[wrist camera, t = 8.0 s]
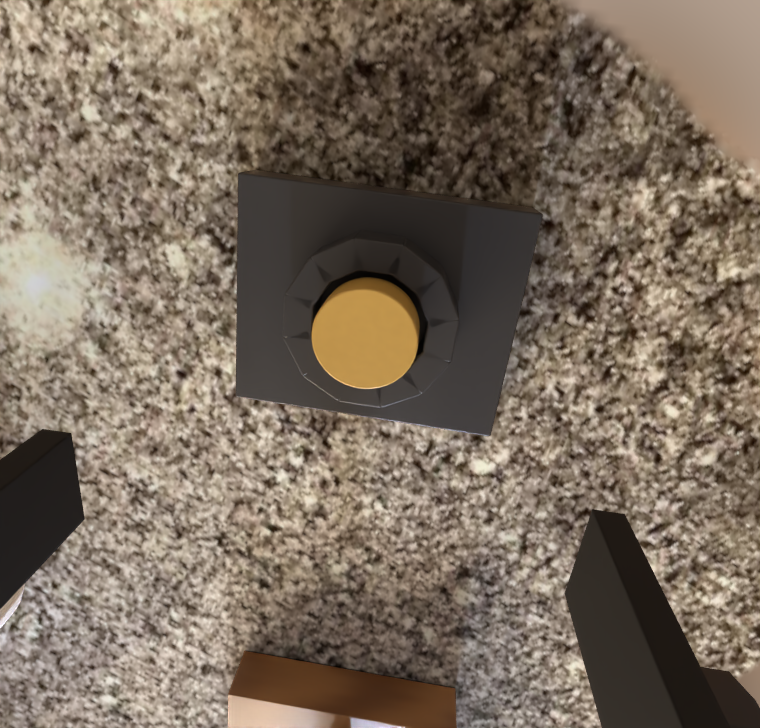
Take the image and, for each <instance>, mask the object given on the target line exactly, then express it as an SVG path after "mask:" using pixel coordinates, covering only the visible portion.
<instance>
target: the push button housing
mask: <svg viewBox="0 0 760 728" xmlns="http://www.w3.org/2000/svg"><path fill="white" fill-rule="evenodd" d="M542 217H543V215H542V214H541V213H540V212H538V211H537V210H536V209H534V208H533V207H527V206H519V205H512V204H505V203H497V202H490V201H483V200H475V199H468V198H460V197H453V196H446V195H438V194H431V193H423V192H416V191H409V190H401V189H394V188H387V187H379V186H372V185H364V184H357V183H350V182H342V181H335V180H328V179H320V178H313V177H305V176H298V175H291V174H283V173H276V172H268V171H261V170H253V171H247V172H241V173H239V174H238V235H237V334H236V397H241V398H247V399H254V400H260V401H267V402H273V403H279V404H286V405H292V406H299V407H305V408H311V409H318V410H324V411H331V412H337V413H343V414H350V415H356V416H363V417H369V418H375V419H382V420H388V421H395V422H401V423H407V424H414V425H420V426H427V427H433V428H440V429H446V430H452V431H459V432H465V433H472V434H478V435H484V436H490V435H491V431H492V427H493V423H494V419H495V415H496V410H497V406H498V402H499V398H500V394H501V389H502V385H503V381H504V377H505V373H506V368H507V364H508V360H509V356H510V352H511V347H512V343H513V339H514V335H515V330H516V326H517V322H518V318H519V314H520V309H521V305H522V301H523V297H524V293H525V288H526V284H527V280H528V276H529V272H530V267H531V263H532V259H533V255H534V251H535V246H536V242H537V238H538V234H539V229H540V225H541V221H542ZM361 277H374V278H380V279H383V280H386V281H389V282H391V283H393V284H395V285H396V286H398V287H399V288H401V289H402V290H403V291H404V292H405V293H406V294H407V295H408V296H409V297H410V299H411V300H412V302H413V303H414V306H415V308H416V310H417V313H418V317H419V324H420V330H419V340H418V349H417V353H416V356H415V359H414V361H413V363H412V365H411V367H410V368H409V369H408V371H407V372H406V373H405V374H404V375H403V376H402V377H400V378H399V379H398V380H396V381H395V382H393V383H391V384H389V385H386V386H383V387H379V388H373V389H361V388H355V387H351V386H348V385H345V384H343V383H341V382H339V381H338V380H336V379H335V378H333V377H332V376H331V375H330V374H328V373H327V372H326V371H325V369H324V368H323V367H322V366H321V364H320V363H319V361H318V359H317V357H316V355H315V353H314V349H313V346H312V326H313V322H314V319H315V317H316V315H317V313H318V311H319V310H320V308H321V307H322V305H323V304H324V302H325V301H326V300H327V298H328V297H329V295H330V294H331V293H332V292H333V291H334V290H335V289H336V288H337V287H339V286H340V285H342V284H343V283H345V282H347V281H350V280H353V279H356V278H361Z"/></svg>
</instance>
